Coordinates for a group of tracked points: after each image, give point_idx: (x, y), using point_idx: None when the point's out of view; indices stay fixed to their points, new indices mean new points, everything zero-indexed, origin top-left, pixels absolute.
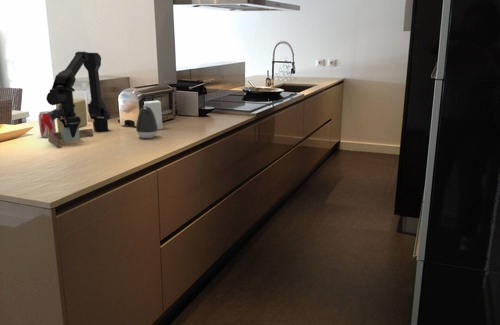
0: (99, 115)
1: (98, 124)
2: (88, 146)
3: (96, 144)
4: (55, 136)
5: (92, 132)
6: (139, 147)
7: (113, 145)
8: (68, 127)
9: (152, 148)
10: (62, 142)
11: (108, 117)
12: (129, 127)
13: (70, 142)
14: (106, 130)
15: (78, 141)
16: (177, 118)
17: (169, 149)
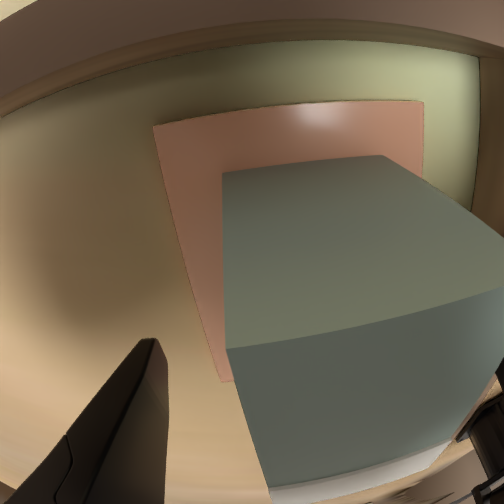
0: (498, 499)
1: (499, 440)
2: (10, 366)
3: (75, 414)
4: (232, 18)
5: None
6: (20, 470)
7: (47, 448)
8: (470, 409)
9: (13, 476)
10: (254, 145)
11: (474, 498)
12: (442, 468)
13: (196, 258)
14: (460, 435)
15: (222, 342)
16: (431, 500)
17: (9, 483)
